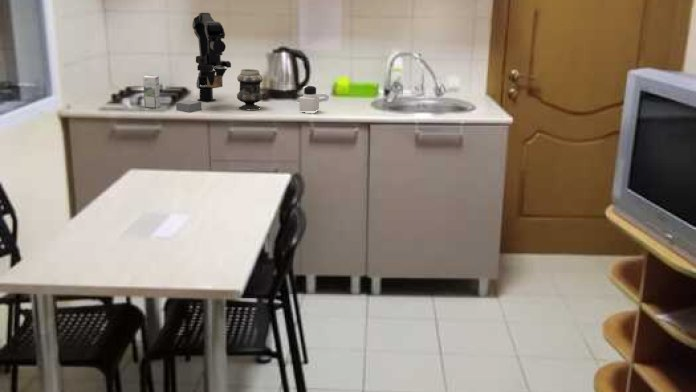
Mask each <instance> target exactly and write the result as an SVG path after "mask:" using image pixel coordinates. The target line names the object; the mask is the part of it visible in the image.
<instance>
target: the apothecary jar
mask: <svg viewBox="0 0 696 392" xmlns="http://www.w3.org/2000/svg"><path fill="white" fill-rule="evenodd" d="M236 79H237V81H238V82H239V91H238V93H236V98H237V100H239V102H241V103H244V104H243V105H240V106H239V107H238V108H239V109H240V108H241V109H240V110H242V109H258V110H260V109H261V107H260V106H259V105H257V103H259V102H261V101H262V100H263V96H264V95H263V94H262V93H261V83H262V82H263V80H264V78H263V76H262V75H261V74H260V70H258V69H254V68H253V69H251V68H244V69H241V70H240V74H238V76H237V78H236ZM259 108H260V109H259Z"/></svg>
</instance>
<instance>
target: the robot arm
mask: <svg viewBox="0 0 696 392" xmlns="http://www.w3.org/2000/svg"><path fill="white" fill-rule="evenodd" d="M191 27H192V30H193V32H194V36H196V38H197V39H198V49H199V55H196V56H195V63H197V64H198V65H197V66H196V67H197V71H199V72H198V76H197V78H196V79H197V80H196V89H199V98H198V99H197V100H196V101H198V102H207V103H208V102H209V103H210V102H212V101H216V98H214V97H213V96H214V95H213V94H214V93H213V92H214V90H213V89H214V88H212V87H207V77H208V80H209V83H210V85H213V82H214V77H215V75H219V76H222V78H223V77H224V74H225V72H226V71H227V70H228V68H231V67H232V63H231V62H230V61H229V60H223V59H222V58H221V56H223V53H224V52H225V51H226V46H227V45H226V44H225V42H224V41H223V40H222V39H226V38H225V36H226V31H225V29H224V27H223V25H222V24H221V22H219V21H215V20H214V18H213V17H212V15H211V13H209V12H200V13H198V15H197V16H196V17H194V18H193V20H192V26H191ZM221 59H222V60H221Z"/></svg>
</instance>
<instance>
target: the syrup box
mask: <svg viewBox="0 0 696 392" xmlns="http://www.w3.org/2000/svg"><path fill="white" fill-rule="evenodd" d="M142 78H143V79H142V80H143V82H142V83H143V98H144V100H143V102H144V103H143V104H144V108H147V109H157V108H159V107H160V106H161V100H160V99H161V97H160V96H161V95H160V76H159V75H152V74H145V75H144V76H142Z"/></svg>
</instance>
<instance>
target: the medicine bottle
mask: <svg viewBox="0 0 696 392" xmlns="http://www.w3.org/2000/svg"><path fill="white" fill-rule="evenodd" d="M302 95H303V96H300V97H299V110H300V111H316V110H318V109H319V110H320V96H317V88H316V86H312V85H306V86H303V88H302Z"/></svg>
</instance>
